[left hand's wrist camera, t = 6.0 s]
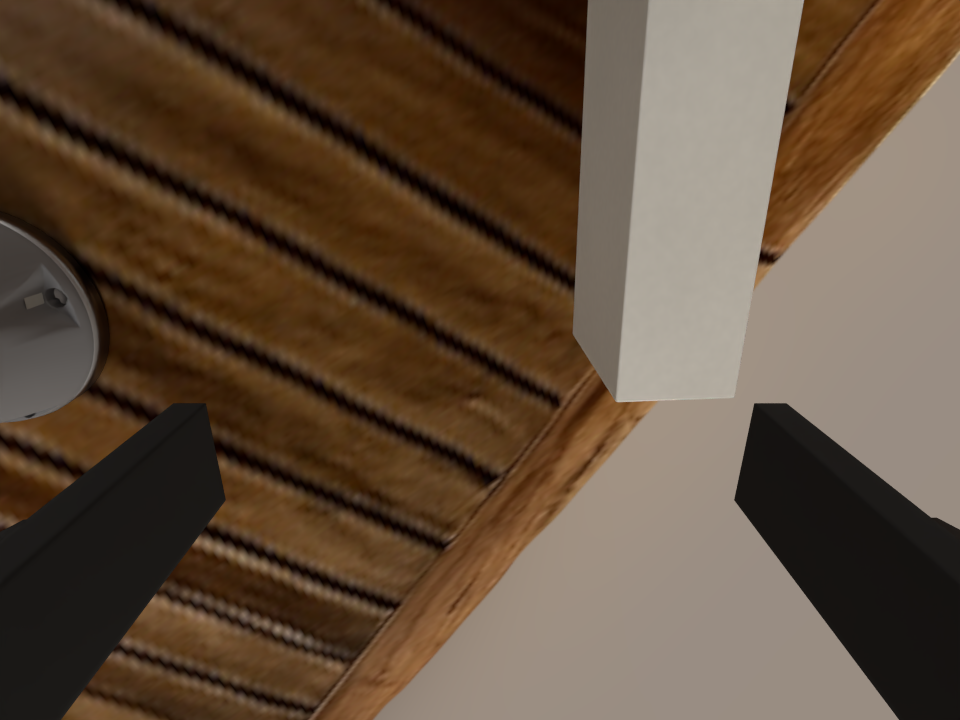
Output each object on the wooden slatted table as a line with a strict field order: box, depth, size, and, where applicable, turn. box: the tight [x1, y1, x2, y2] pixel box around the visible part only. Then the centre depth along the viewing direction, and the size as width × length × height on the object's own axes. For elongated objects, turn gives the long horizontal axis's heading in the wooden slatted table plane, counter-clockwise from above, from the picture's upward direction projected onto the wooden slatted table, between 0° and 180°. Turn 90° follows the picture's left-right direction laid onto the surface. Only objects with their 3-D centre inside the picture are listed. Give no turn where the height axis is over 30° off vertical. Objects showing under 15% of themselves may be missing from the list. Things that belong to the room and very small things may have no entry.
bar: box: [573, 0, 804, 402], centre depth 20 cm, size 25×5×9 cm, turn 1°
